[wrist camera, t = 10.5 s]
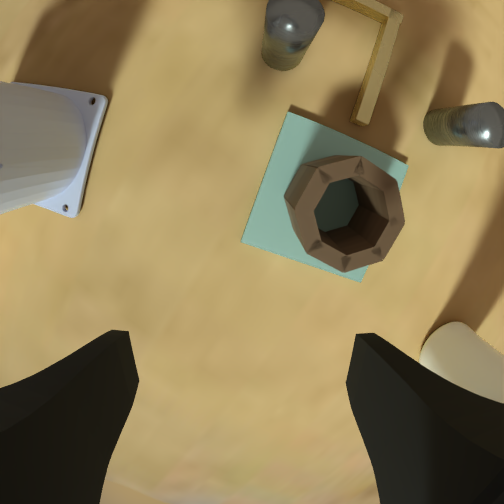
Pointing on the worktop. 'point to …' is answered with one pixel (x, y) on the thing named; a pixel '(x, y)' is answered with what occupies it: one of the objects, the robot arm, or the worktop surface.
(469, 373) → the drinking glass
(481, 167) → the worktop surface
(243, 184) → the worktop surface
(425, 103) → the worktop surface
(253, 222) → the pad
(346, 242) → the octagonal hollow tube
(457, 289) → the worktop surface
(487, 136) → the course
